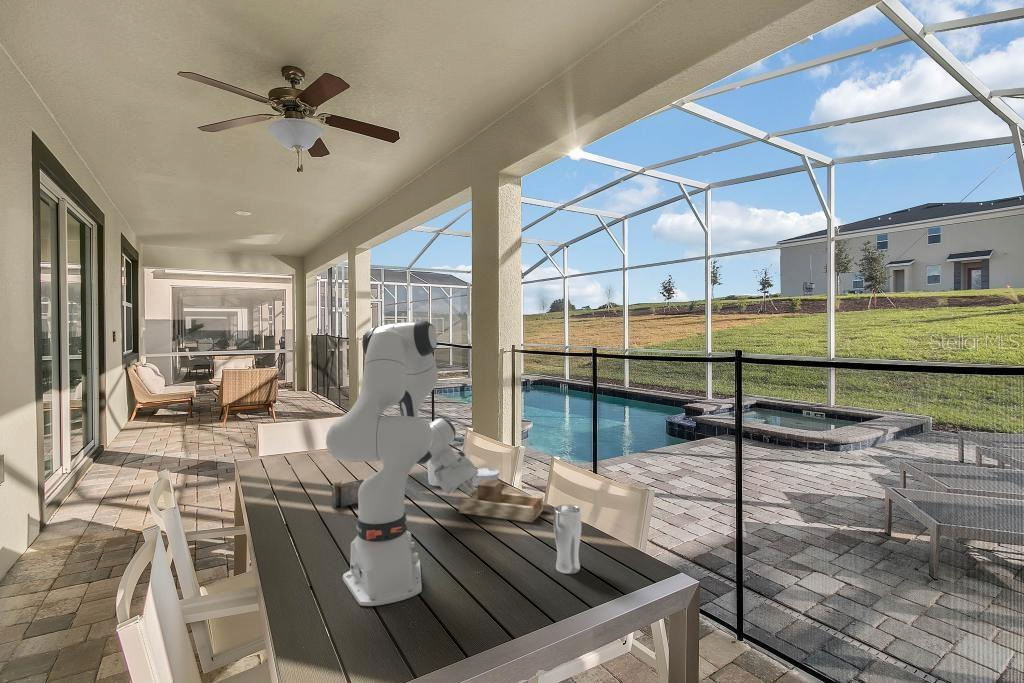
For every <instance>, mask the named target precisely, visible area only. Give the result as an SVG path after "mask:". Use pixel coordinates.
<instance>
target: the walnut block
mask: <svg viewBox="0 0 1024 683" xmlns="http://www.w3.org/2000/svg"><path fill="white" fill-rule="evenodd" d="M502 483H503V482H502V480H498V481H496V480H484V481H483V482H481V483H480V484H478V487H477V490H478V500H484V501H492V502H500V503H502V491H503V490H502V488H503V486H502V485H503V484H502Z"/></svg>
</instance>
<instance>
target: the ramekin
mask: <svg viewBox="0 0 1024 683" xmlns="http://www.w3.org/2000/svg"><path fill="white" fill-rule="evenodd" d="M477 470H478V474H477V475H476V476H475V477H474V478H473V479H471V482H472V485H473V487H475V486H476V487H475V488H478V484H480V483H481V482H483V481H484V480H496V481H499V476H500V471H499V470H498V469H496V468H489V467H481V468H477Z"/></svg>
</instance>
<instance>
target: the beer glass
mask: <svg viewBox="0 0 1024 683" xmlns="http://www.w3.org/2000/svg"><path fill="white" fill-rule="evenodd" d="M553 511H554V512H553V533H554V534H553V536H554V539H555V541H554V542H555V545H556V552H557V553H556V562H555V563H556V564H555V569H556V571H558V572H559V573H561V574H565V575H572V574H576V573H578V572H579V571H580V569H581V563H580V558H579V549H580V543H581V536H582V517H581V516H582V514H581V508H580V507H578V506H577V505H573V504H560V505H557V506H555V507H554V510H553Z"/></svg>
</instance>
